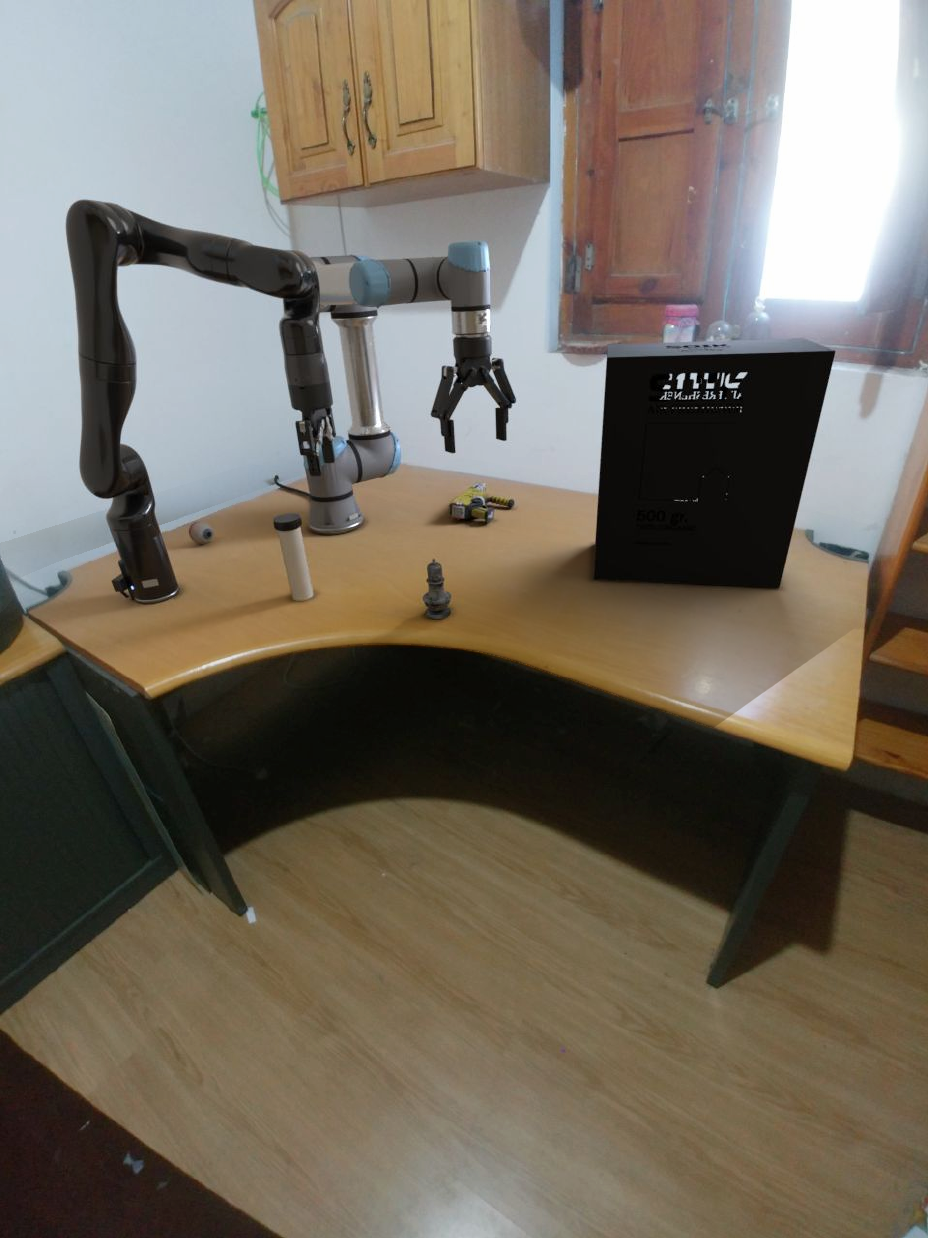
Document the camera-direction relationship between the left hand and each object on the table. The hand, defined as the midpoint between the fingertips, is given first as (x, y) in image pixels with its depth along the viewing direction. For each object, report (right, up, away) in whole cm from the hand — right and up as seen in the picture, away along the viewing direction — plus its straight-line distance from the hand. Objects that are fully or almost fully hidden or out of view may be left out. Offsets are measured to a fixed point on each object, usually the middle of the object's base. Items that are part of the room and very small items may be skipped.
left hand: (323, 468), depth 116 cm
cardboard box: (+76, -17, +20) cm, 80 cm away
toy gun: (+34, +3, +58) cm, 67 cm away
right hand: (+30, +8, +11) cm, 33 cm away
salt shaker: (+22, -28, +6) cm, 36 cm away
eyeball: (-43, -9, +46) cm, 64 cm away
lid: (-9, -8, +7) cm, 15 cm away
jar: (-8, -24, +16) cm, 30 cm away
